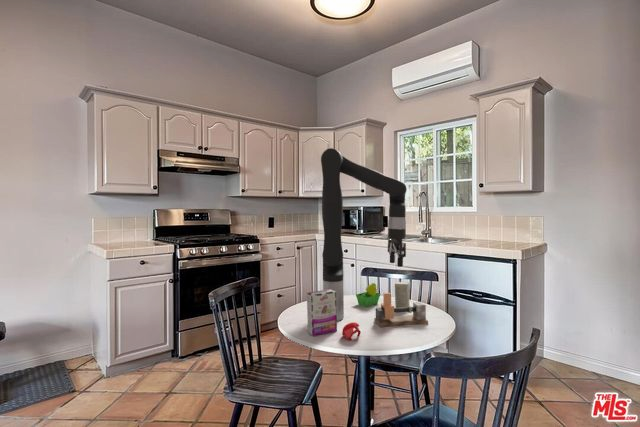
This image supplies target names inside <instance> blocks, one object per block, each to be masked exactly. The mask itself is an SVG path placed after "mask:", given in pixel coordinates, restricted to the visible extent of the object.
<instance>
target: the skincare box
mask: <svg viewBox="0 0 640 427" xmlns="http://www.w3.org/2000/svg"><path fill="white" fill-rule="evenodd" d="M394 302H395V303H394V304H395V306H394V308H402V307H407V306H410V282H404V281H396V282H395V283H394Z"/></svg>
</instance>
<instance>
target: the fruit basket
mask: <svg viewBox="0 0 640 427" xmlns="http://www.w3.org/2000/svg"><path fill="white" fill-rule="evenodd" d="M380 296H381V293H379V292H378V289H377V284H376V283H374V282H372V283H371V284H369V285H368V286H366V288H365V292H361V293H356V294H355V297H356V300H357V303H358V305H359V306H361V307H369V306H373V305H377V304H378V303H379V300H380Z"/></svg>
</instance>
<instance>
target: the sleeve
mask: <svg viewBox="0 0 640 427" xmlns="http://www.w3.org/2000/svg"><path fill="white" fill-rule="evenodd" d="M382 294H383V303H382V302H381V303H380V308H381V309H384V319H394V316H395V313H394V308H395V306H394V305H393V304H392V293H391V292H383V293H382Z"/></svg>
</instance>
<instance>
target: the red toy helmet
mask: <svg viewBox="0 0 640 427" xmlns="http://www.w3.org/2000/svg"><path fill="white" fill-rule="evenodd" d="M359 327H360V324H359V323H357V322H348V323H346V324H345V325H344V326H343V328H342V332H341V333H342V334H341V335H342V336H344V337H345V338H346V339H347V340H349V341H352V337H353V336H354V335H355V334H356V333H357V334H356V337H357V338H360V335H361V333H362V332H361V330H360V328H359Z"/></svg>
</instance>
